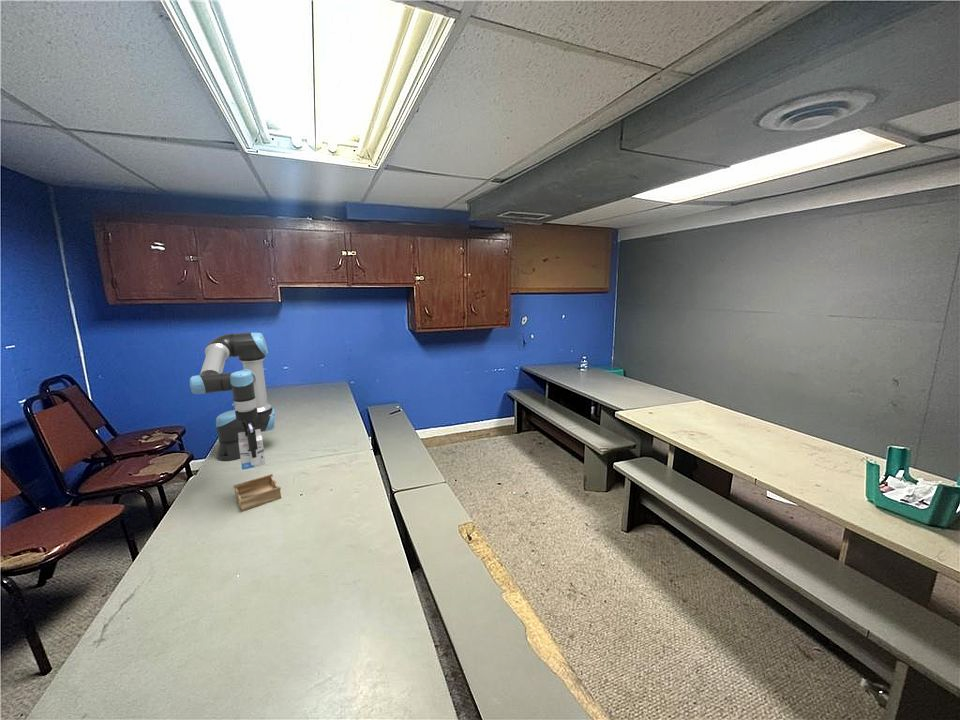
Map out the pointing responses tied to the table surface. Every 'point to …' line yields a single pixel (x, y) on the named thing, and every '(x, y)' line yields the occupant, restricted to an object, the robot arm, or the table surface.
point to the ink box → (245, 446)
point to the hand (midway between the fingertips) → (253, 461)
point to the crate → (257, 492)
